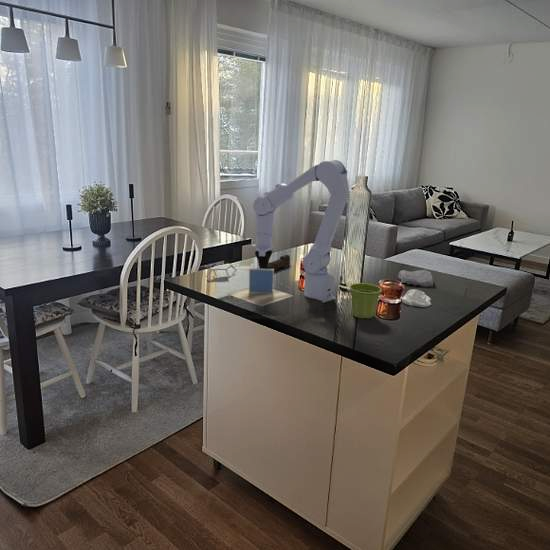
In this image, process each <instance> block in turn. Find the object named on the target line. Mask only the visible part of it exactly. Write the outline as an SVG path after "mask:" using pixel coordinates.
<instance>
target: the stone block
mask: <svg viewBox="0 0 550 550" xmlns="http://www.w3.org/2000/svg"><path fill="white" fill-rule="evenodd" d="M398 278H399V279H401V281H400V283H401V282H403V283H407V284H406V285H409V284H413V285H412V286H416V285H420V286H419V287H433V286H434V280H433V276H432V272H430V271H428V270H427V269H421V270H414V271H408V270H405V269H402V270H400V271H399V272H398V277H397V279H398ZM399 279H398V280H399Z"/></svg>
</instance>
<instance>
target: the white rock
mask: <svg viewBox="0 0 550 550" xmlns="http://www.w3.org/2000/svg"><path fill="white" fill-rule="evenodd" d="M401 298H402V301H401V302H402V303H403V304H404V305H407V306H412V307H418V308H419V307H421V308H427V307H430V306H431V305H432V302H431V300H432V299H431V297H430V296H428V295H426V293H425V292H424V291H422V290H420V289H416V288H415V289H414V288H412V289H409V290H407V292H406V293H405V295H404V296H402V297H401Z"/></svg>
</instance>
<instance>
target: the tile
mask: <svg viewBox="0 0 550 550" xmlns="http://www.w3.org/2000/svg"><path fill="white" fill-rule="evenodd" d="M274 272H275V270H274V269H262V268H259V267H249V269H248V287H249V292H253V293H273V289H274V279H275V278H274V275H275V273H274Z"/></svg>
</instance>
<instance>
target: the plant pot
mask: <svg viewBox="0 0 550 550" xmlns="http://www.w3.org/2000/svg"><path fill="white" fill-rule="evenodd" d="M348 287H349V290H350V294H351V308H352V310H351V311H352V315H353V316H354V317H355V318H358V319H368V320H369V319H372V318H373V317H374V315H375V311H376V307H377V304H378V300H379V296H380V294H381V292H382V290H383V289H382V287H380V286H378V285H376V284H371V283H360V282H359V283H352V284H349V286H348Z"/></svg>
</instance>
